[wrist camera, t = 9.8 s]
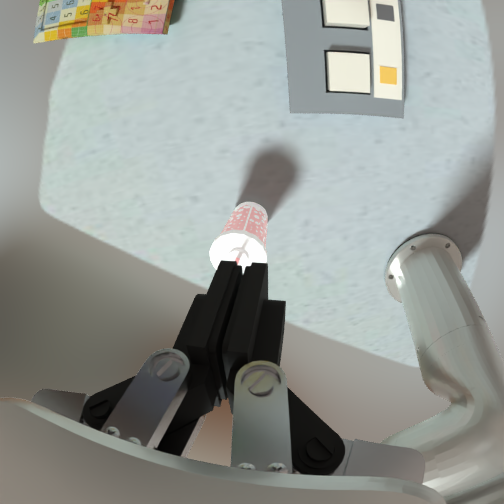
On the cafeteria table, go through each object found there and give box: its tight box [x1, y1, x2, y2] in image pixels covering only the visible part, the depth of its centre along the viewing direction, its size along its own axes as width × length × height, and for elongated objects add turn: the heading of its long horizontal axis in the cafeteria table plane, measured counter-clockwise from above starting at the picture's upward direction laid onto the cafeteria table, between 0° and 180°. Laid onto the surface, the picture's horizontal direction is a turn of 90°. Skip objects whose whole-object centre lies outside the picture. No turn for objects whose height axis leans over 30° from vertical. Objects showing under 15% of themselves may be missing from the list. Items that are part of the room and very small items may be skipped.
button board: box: [282, 0, 404, 118], centre depth 22 cm, size 12×23×3 cm, turn 5°
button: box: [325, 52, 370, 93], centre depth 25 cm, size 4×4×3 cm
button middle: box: [322, 0, 370, 29], centre depth 21 cm, size 4×4×3 cm
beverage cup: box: [210, 202, 268, 273], centre depth 34 cm, size 6×6×14 cm
